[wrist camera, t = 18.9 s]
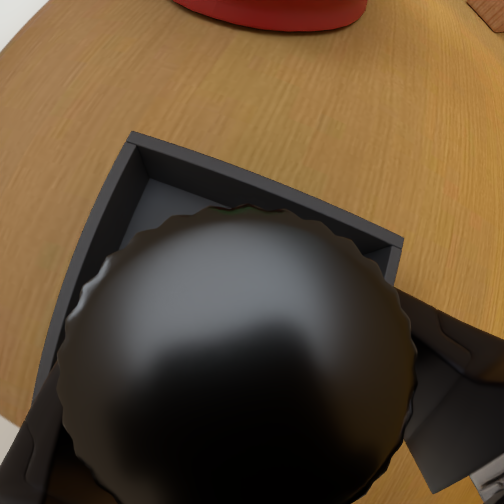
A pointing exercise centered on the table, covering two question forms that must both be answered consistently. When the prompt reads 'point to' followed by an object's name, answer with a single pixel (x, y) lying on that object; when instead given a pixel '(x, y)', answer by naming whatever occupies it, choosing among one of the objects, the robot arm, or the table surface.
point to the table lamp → (281, 13)
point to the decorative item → (490, 12)
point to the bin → (188, 203)
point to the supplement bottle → (237, 364)
